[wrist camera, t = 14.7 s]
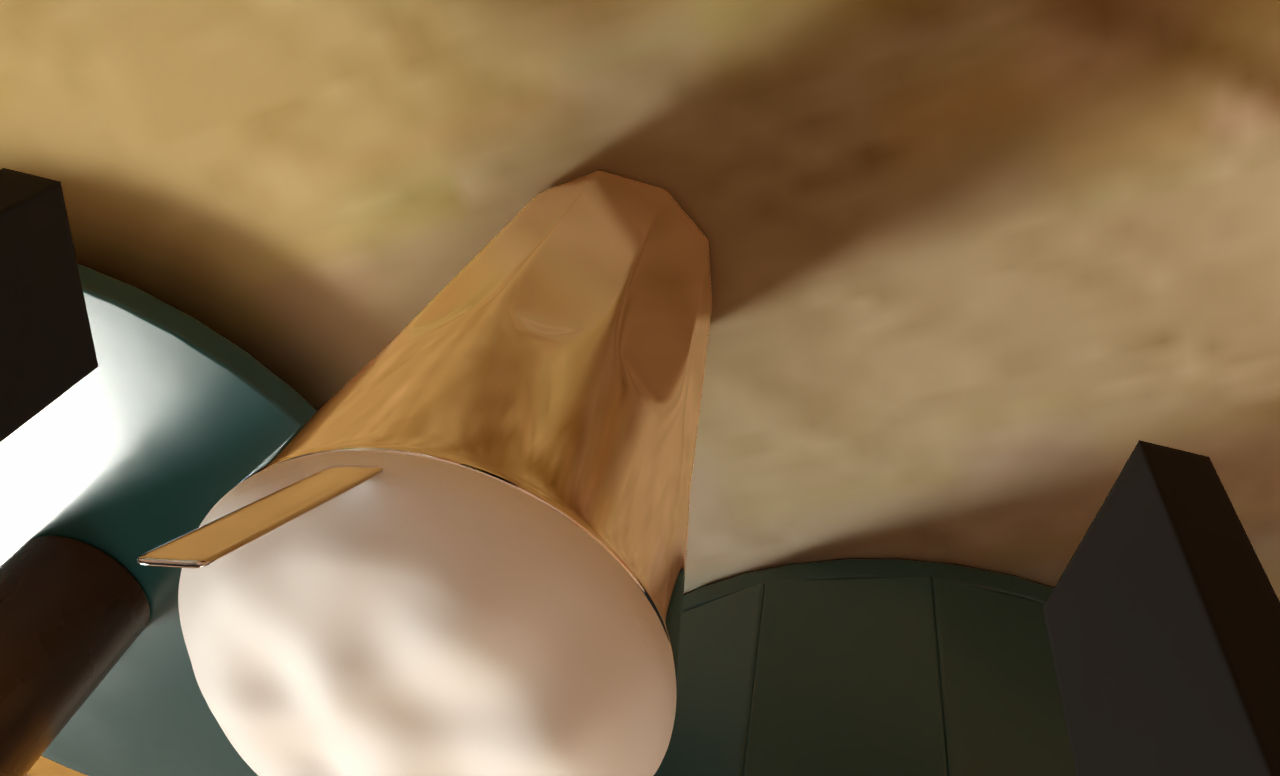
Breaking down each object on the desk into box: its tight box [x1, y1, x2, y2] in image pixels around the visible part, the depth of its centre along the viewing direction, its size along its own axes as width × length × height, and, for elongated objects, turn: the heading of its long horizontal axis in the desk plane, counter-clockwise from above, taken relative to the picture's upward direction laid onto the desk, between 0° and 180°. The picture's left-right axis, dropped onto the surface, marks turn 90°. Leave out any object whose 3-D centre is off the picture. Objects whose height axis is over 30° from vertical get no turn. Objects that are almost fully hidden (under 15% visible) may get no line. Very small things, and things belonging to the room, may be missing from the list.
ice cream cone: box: [137, 171, 712, 776], centre depth 11 cm, size 5×5×10 cm
